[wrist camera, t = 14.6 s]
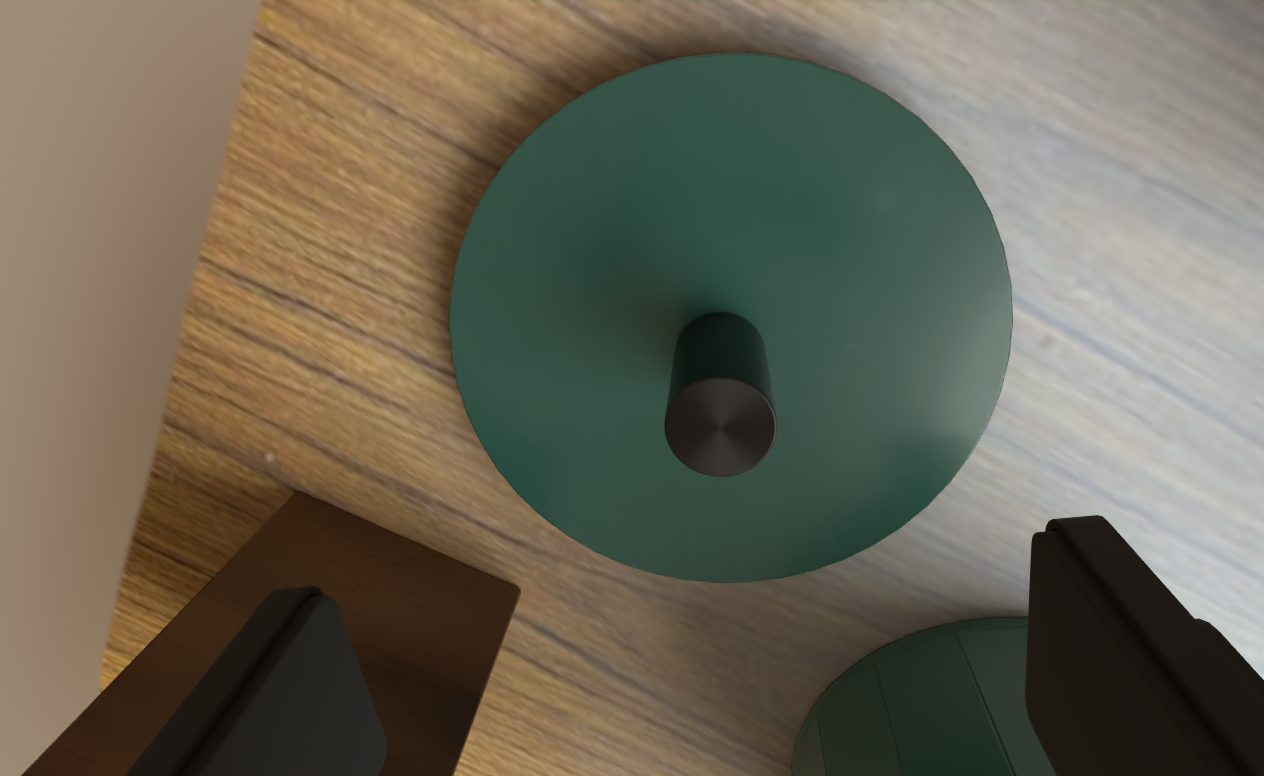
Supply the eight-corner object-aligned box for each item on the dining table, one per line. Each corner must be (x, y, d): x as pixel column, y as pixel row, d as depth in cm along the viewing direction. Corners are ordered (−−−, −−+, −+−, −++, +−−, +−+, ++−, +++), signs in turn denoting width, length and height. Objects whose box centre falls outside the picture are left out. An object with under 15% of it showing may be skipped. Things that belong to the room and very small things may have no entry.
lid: (521, 576, 26) (471, 708, 20) (401, 105, 20) (291, 121, 15) (993, 541, 23) (1073, 681, 18) (1004, 1, 18) (1121, -22, 13)
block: (444, 742, 29) (277, 1160, 18) (242, 657, 28) (-59, 1037, 17) (522, 589, 26) (378, 981, 15) (296, 489, 25) (-28, 823, 14)
